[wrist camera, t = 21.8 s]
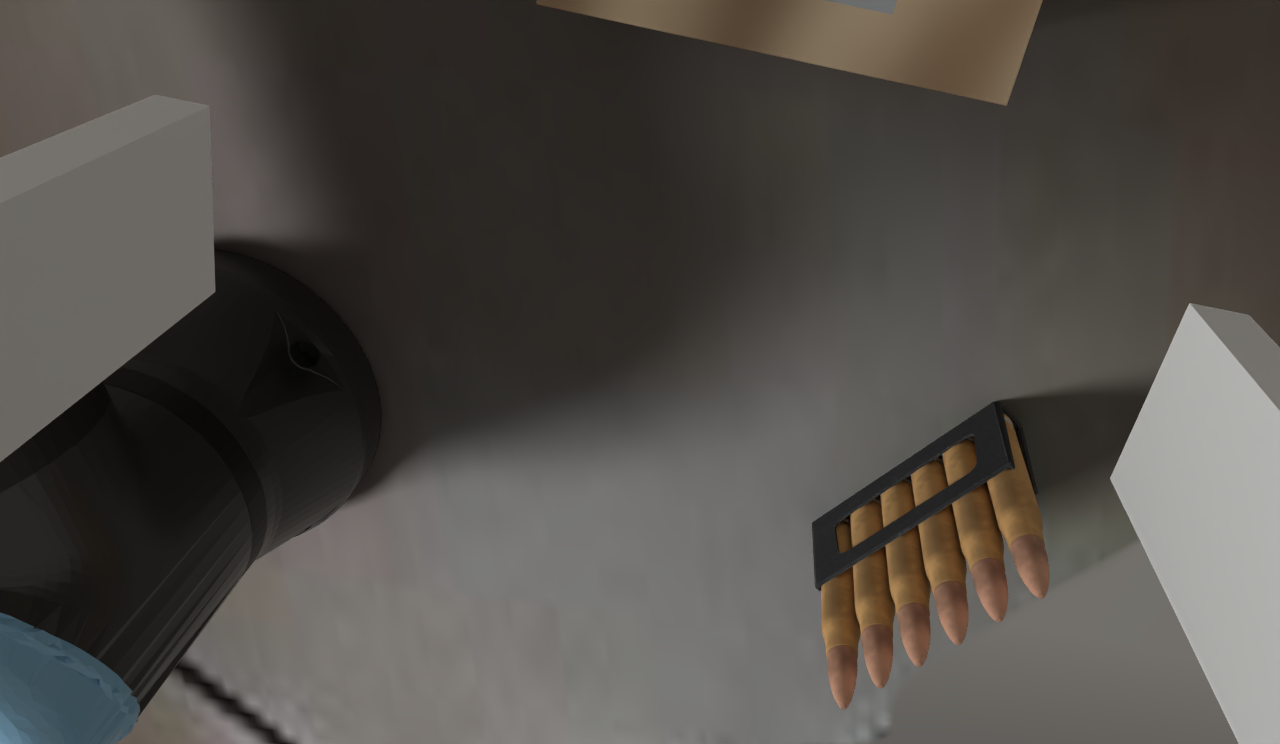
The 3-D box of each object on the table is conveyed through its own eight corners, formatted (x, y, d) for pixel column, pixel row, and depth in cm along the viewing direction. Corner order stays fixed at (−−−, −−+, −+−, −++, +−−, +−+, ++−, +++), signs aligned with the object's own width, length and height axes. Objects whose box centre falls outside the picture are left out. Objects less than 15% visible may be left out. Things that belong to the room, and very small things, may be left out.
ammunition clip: (997, 398, 46) (1049, 566, 36) (1022, 427, 47) (1081, 600, 36) (810, 523, 51) (808, 704, 40) (835, 547, 51) (839, 733, 41)
